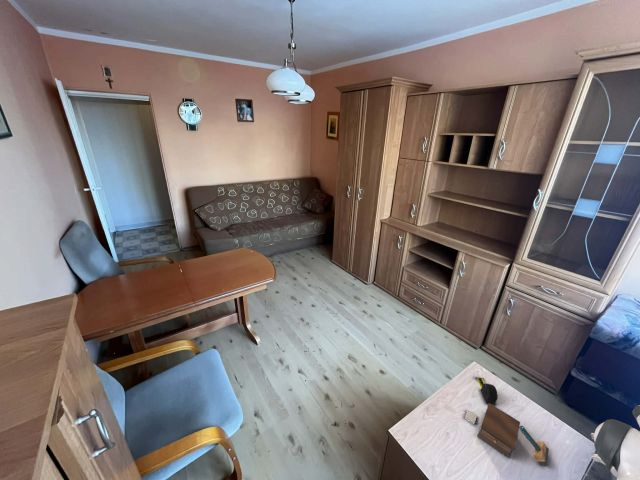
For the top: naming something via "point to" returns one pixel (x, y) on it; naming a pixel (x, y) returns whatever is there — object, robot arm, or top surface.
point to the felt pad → (471, 417)
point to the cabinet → (499, 430)
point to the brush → (537, 448)
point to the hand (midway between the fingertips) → (591, 446)
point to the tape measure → (488, 392)
